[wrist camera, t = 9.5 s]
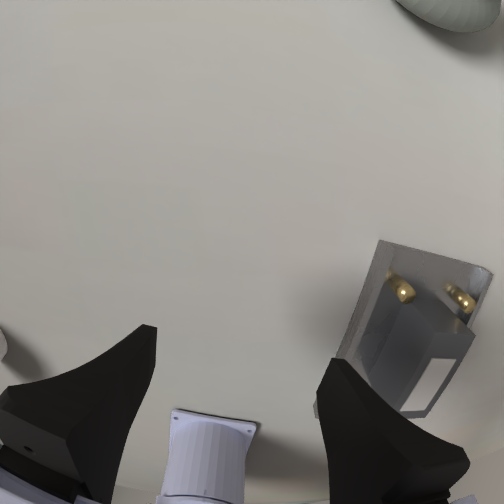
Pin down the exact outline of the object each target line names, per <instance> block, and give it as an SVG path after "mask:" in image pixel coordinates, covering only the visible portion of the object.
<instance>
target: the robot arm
mask: <svg viewBox="0 0 504 504" xmlns="http://www.w3.org/2000/svg"><path fill="white" fill-rule="evenodd" d="M156 340H157V327H153V326H149V325H144V324H142V325H141V326H139V327H138V328H137V329H136V330H134V331H133V332H132V333H131V334H129V335H128V336H127V337H125V338H124V339H123V340H122V341H120V342H119V343H117V344H116V345H115V346H113V347H112V348H110V349H109V350H108V351H106V352H104V353H103V354H101V355H100V356H98V357H97V358H95V359H93V360H91V361H90V362H88V363H86V364H84V365H82V366H80V367H78V368H76V369H73V370H71V371H68V372H66V373H63V374H60V375H58V376H55V377H52V378H48V379H45V380H41V381H37V382H32V383H27V384H21V385H14V386H8V387H7V388H6V389H5V390H4V392H3V393H2V394H1V395H0V439H1V440H2V442H3V444H4V445H3V446H2V448H1V449H0V504H111V500H112V495H113V490H114V486H115V481H116V477H117V473H118V468H119V465H120V461H121V457H122V453H123V450H124V446H125V443H126V439H127V436H128V433H129V430H130V428H131V425H132V423H133V421H134V418H135V416H136V414H137V412H138V409H139V407H140V405H141V403H142V401H143V398H144V396H145V394H146V392H147V389H148V387H149V385H150V381H151V378H152V375H153V372H154V368H155V361H156ZM316 394H317V409H318V416H319V421H320V425H321V430H322V435H323V439H324V444H325V448H326V453H327V459H328V469H329V487H330V504H449V503H448V501H447V498H449V497H450V495H451V494H450V492H449V488H451V487H452V486H453V485H454V484H455V483H456V482H457V481H458V480H459V479H460V478H461V477H462V476H463V475H464V474H465V473H466V472H467V470H468V469H469V467H470V461H469V459H468V457H467V455H466V453H465V451H464V449H463V448H462V447H459V446H457V445H454V444H451V443H449V442H446V441H444V440H442V439H440V438H438V437H436V436H434V435H432V434H430V433H428V432H426V431H424V430H423V429H421V428H419V427H418V426H416V425H415V424H413V423H412V422H410V421H409V420H407V419H406V418H405V417H403V416H402V415H401V414H400V413H398V412H397V411H396V410H395V409H393V408H392V407H391V406H390V405H389V404H388V403H387V402H386V401H385V400H383V399H382V398H381V397H380V396H379V395H378V394H377V393H376V392H375V391H374V390H373V389H372V388H371V386H370V385H369V384H368V383H367V382H366V381H365V380H364V379H363V378H362V377H361V376H360V374H359V373H358V372H357V371H356V370H355V369H354V368H353V367H352V366H351V365H350V364H349V363H348V362H347V361H346V360H345V359H340V358H331V361H330V363H329V365H328V367H327V370H326V372H325V374H324V376H323V379H322V381H321V383H320V385H319V387H318V390H317V392H316ZM255 431H256V424H255V423H252V422H245V421H238V420H231V419H225V418H219V417H213V416H207V415H202V414H197V413H192V412H187V411H182V410H177V409H175V410H172V413H171V428H170V448H169V459H168V463H167V468H166V472H165V476H164V481H163V485H162V490H161V494H160V496H159V495H157V498H156V502H155V504H244V488H245V457H246V454H247V452H248V449H249V446H250V444H251V441H252V439H253V436H254V433H255ZM147 504H151V503H147ZM450 504H478V503H477V500H476V498H475V496H474V495H470V496H467V497H464V498H461V499H458V500H456V501H454V502H452V503H450Z"/></svg>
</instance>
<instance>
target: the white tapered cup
mask: <svg viewBox="0 0 504 504" xmlns="http://www.w3.org/2000/svg"><path fill="white" fill-rule="evenodd" d="M6 353H7V342H6V339H5V336H4V335H3V333H2V331H1V329H0V361H1V360H2V359H3V357H4V356H5V354H6Z"/></svg>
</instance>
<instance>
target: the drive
mask: <svg viewBox="0 0 504 504" xmlns="http://www.w3.org/2000/svg"><path fill="white" fill-rule="evenodd" d="M475 336H476V335H475V334H474V333H473V332H472V331H471V330H470V329H469V328H468V327H467V326H466V325H465V324H464V323H463V322H462V321H461V320H460V319H459V318H458V317H457V316H456V315H455V314H454V313H453V311H452V310H451V309H450V308H449V307H448V306H447V305H446V304H445V303H442V302H436V301H430V300H424V299H418V298H414V300H413V301H412V302H411V303H409V304H404V303H403V305H402V307H401V309H400V312H399V314H398V316H397V319H396V321H395V323H394V325H393V328H392V330H391V332H390V334H389V336H388V339H387V341H386V343H385V345H384V347H383V349H382V351H381V353H380V355H379V357H378V359H377V361H376V363H375V365H374V367H373V369H372V371H371V373H370V375H369V377H368V379H369V381H370V384H371V386H372V389H373V390H374V391H375V392H376V393H377V394H378V395H379V396H380V397H381V398H382V399H383V400H385V401H386V402H387V403H388V404H389V405H390V406H391V407H392V408H393V409H395V410H396V411H397V412H398V413H400V414H401V415H402V416H403V417H405V418H406V419H410V418H425V417H426V416H427V414H428V413H429V411H430V410H431V409H432V407H433V406H434V404H435V403H436V401H437V400H438V398H439V397H440V395H441V394H442V392H443V391H444V389H445V388H446V386H447V385H448V383H449V382H450V380H451V378H452V377H453V375H454V373H455V372H456V370H457V368H458V367H459V365H460V363H461V362H462V360H463V358H464V356H465V355H466V353H467V351H468V349H469V347H470V346H471V344H472V342H473V340H474V338H475Z"/></svg>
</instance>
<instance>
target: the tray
mask: <svg viewBox="0 0 504 504" xmlns="http://www.w3.org/2000/svg"><path fill="white" fill-rule="evenodd" d="M493 275H494V274H492V273H491V272H489V271H488V270H486V269H485V268H484V267H481V266H477V265H474V264H470V263H466V262H463V261H459V260H456V259H452V258H448V257H444V256H441V255H437V254H433V253H429V252H426V251H422V250H418V249H414V248H410V247H406V246H402V245H398V244H394V243H390V242H386V241H382V240H379V242H378V245H377V248H376V251H375V254H374V257H373V260H372V263H371V266H370V269H369V272H368V275H367V278H366V281H365V284H364V286H363V289H362V292H361V295H360V297H359V300H358V303H357V305H356V308H355V311H354V313H353V316H352V318H351V321H350V323H349V326H348V328H347V331H346V333H345V336H344V338H343V341H342V343H341V345H340V348H339V350H338V352H337V355H336V357H335V358H340V359H345V360H346V361H347V362H348V363H349V364H350V365H351V366H352V367H353V368H354V369H355V370H356V371H357V372H358V373H359V374H360V376H361V377H362V378H363V379H364V380H365V381H366V382H367V383H368V384H369V385H370V386H371V384H370V381H369V379H368V377H369V375H370V373H371V371H372V369H373V367H374V365H375V363H376V361H377V359H378V357H379V355H380V353H381V351H382V349H383V347H384V345H385V343H386V341H387V339H388V336H389V334H390V332H391V330H392V328H393V325H394V323H395V321H396V319H397V316H398V314H399V312H400V309H401V307H402V305H403V303H404V304H409V303H411V302H412V301H413V300H414V298H418V299H424V300H430V301H436V302H442V303H445V304H446V305H447V306H448V307H449V308H450V309H451V310H452V311H453V313H454V314H455V315H456V316H457V317H458V318H459V319H460V320H461V321H462V322H463V323H464V324H465V325H466V326H467V327H468V328H469V329H470V327H471V325H472V323H473V321H474V319H475V317H476V315H477V312H478V310H479V308H480V306H481V304H482V301H483V299H484V297H485V294H486V292H487V290H488V287H489V285H490V282H491V280H492V277H493ZM371 388H372V386H371ZM313 408H314V413H315V418H318V419H319V416H318V409H317V399H316V401H315V403H314V405H313ZM411 419H414V418H411Z"/></svg>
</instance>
